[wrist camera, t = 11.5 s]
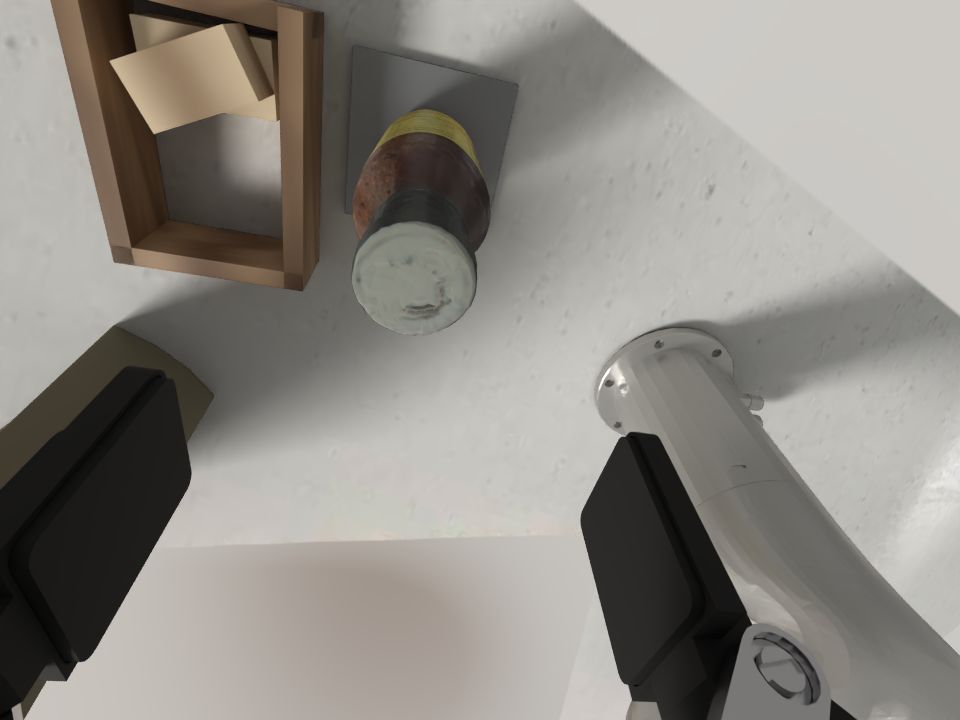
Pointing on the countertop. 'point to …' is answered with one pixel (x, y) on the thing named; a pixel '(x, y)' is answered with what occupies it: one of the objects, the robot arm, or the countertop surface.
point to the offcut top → (194, 76)
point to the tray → (134, 155)
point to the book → (75, 390)
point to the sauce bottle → (419, 224)
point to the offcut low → (166, 29)
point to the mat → (416, 86)
